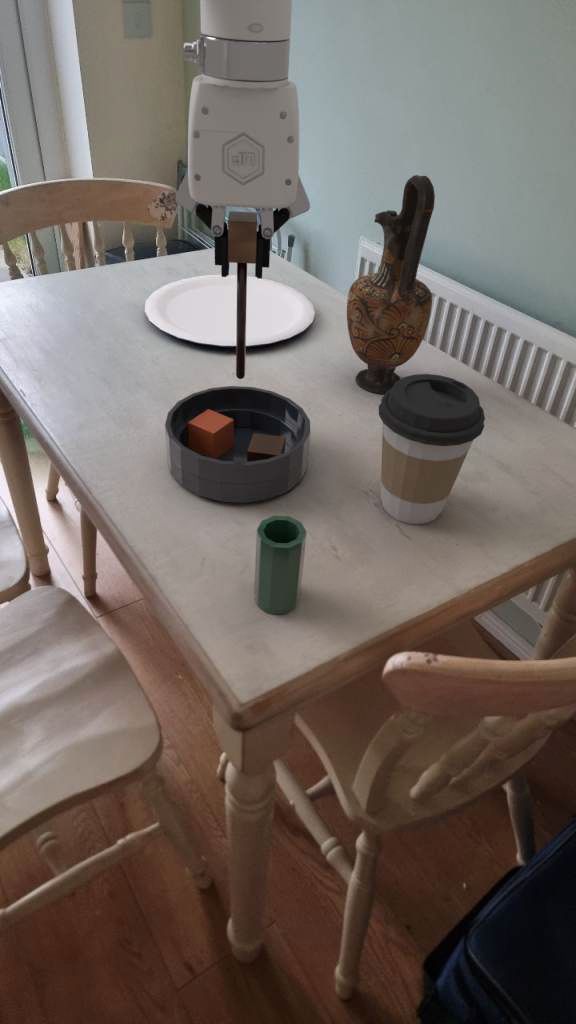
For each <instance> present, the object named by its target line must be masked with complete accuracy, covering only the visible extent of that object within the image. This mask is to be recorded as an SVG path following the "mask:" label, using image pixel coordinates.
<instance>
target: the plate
mask: <svg viewBox="0 0 576 1024" xmlns="http://www.w3.org/2000/svg"><path fill="white" fill-rule="evenodd" d="M144 313H145V315H146V318H147V319H148V321H149V323H151V324H152V325H153V326H154V327H156V328H157V329H158V330H159V331H160V332H163V333H165V334H167V335H169V336H171V337H173V338H176V339H179V340H181V341H186V342H190V343H193V344H198V345H202V346H203V345H204V346H209V347H210V346H212V347H218V348H236V331H237V274H229V276H227V277H221V274H207V275H196V276H193V277H188V278H182V279H178V280H175V281H173V282H170V283H168V284H164V285H162V286H161V287H160V288H158V289H157V290H155V291H154V292H152V293H150V295H149V297H148V298H147V299H146V300H145V303H144ZM315 316H316V310H315V307H314V305H313V303H312V302H311V300H309V298H307V296H306V295H305V294H303V293H302V292H300V291H298V290H296V289H295V288H293V287H291V286H289V285H286V284H284V283H280V282H278V281H275V280H271V279H267V278H262V279H259V278H257V277H255V276H250V275H247V298H246V348H251V347H252V348H253V347H260V346H268V345H273V344H276V343H280V342H283V341H287V340H290V339H292V338H294V337H296V336H298V335H300V334H301V333H304V332H305V331H306V330H307V329H308V328H309V327H310V326H311V325H312V324H313V323H314V319H315Z"/></svg>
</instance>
